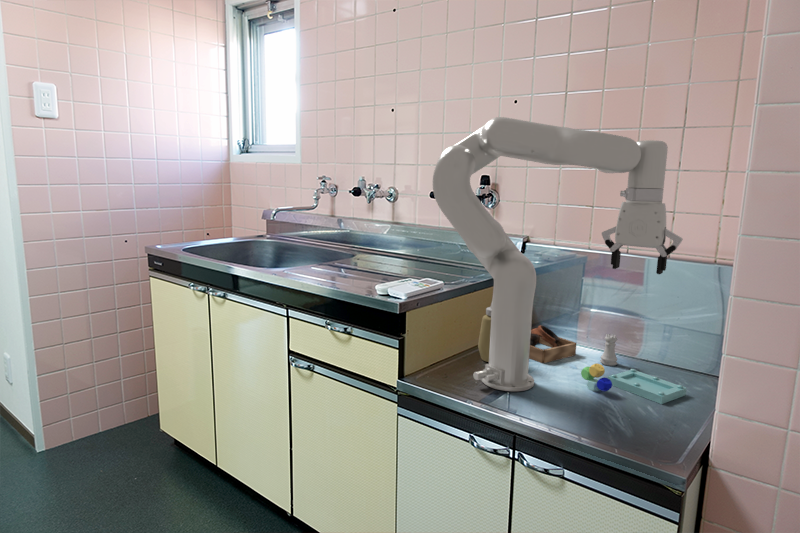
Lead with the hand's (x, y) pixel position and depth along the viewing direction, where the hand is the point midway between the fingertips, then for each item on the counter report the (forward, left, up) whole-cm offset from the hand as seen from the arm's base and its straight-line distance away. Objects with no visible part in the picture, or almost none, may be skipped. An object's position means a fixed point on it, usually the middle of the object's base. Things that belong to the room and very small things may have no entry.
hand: (637, 270), depth 125 cm
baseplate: (+3, -3, -29) cm, 29 cm away
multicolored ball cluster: (-8, +3, -29) cm, 30 cm away
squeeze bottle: (-15, +31, -29) cm, 45 cm away
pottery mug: (+2, +30, -29) cm, 42 cm away
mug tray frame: (+2, +30, -29) cm, 41 cm away
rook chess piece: (+11, +13, -29) cm, 34 cm away
